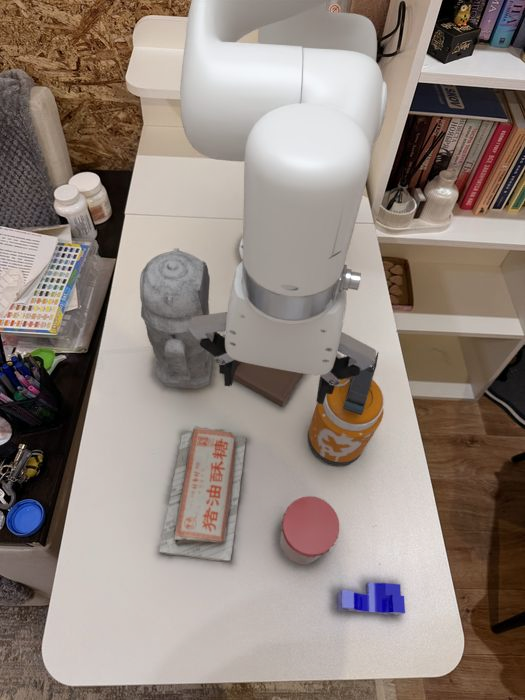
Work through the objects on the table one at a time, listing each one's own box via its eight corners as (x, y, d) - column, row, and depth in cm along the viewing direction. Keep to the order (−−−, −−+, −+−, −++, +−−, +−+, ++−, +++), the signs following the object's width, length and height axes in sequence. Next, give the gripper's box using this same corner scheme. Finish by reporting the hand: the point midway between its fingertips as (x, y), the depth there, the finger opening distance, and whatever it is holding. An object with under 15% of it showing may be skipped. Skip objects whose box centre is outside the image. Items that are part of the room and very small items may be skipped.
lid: (298, 489, 68) (300, 485, 66) (346, 518, 66) (349, 515, 65) (271, 537, 65) (272, 534, 63) (321, 569, 63) (323, 567, 61)
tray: (267, 321, 92) (268, 314, 90) (319, 348, 89) (321, 342, 87) (227, 376, 85) (227, 370, 84) (282, 407, 83) (283, 401, 81)
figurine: (216, 327, 90) (210, 225, 69) (210, 399, 83) (201, 311, 62) (161, 324, 90) (137, 221, 69) (150, 397, 83) (120, 307, 61)
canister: (299, 455, 79) (317, 399, 62) (320, 395, 84) (341, 328, 67) (355, 475, 78) (389, 424, 60) (372, 413, 83) (408, 350, 66)
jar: (293, 508, 75) (300, 490, 66) (332, 532, 73) (344, 516, 65) (271, 548, 72) (276, 534, 64) (311, 573, 70) (321, 562, 62)
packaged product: (180, 420, 76) (246, 428, 76) (183, 433, 80) (246, 440, 80) (154, 548, 66) (230, 557, 66) (159, 554, 71) (231, 562, 71)
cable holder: (395, 586, 70) (403, 583, 66) (396, 615, 68) (405, 613, 65) (337, 581, 70) (342, 577, 66) (336, 609, 68) (342, 607, 65)
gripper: (405, 257, 41) (360, 368, 55) (193, 222, 42) (204, 339, 56) (401, 333, 37) (354, 431, 51) (167, 292, 38) (186, 399, 52)
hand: (275, 383), depth 54 cm, fingers open, 9 cm apart
